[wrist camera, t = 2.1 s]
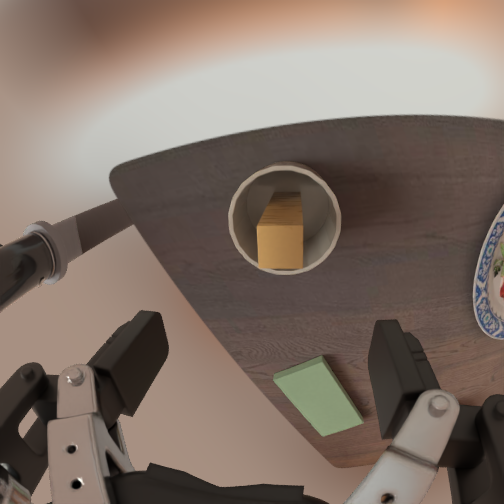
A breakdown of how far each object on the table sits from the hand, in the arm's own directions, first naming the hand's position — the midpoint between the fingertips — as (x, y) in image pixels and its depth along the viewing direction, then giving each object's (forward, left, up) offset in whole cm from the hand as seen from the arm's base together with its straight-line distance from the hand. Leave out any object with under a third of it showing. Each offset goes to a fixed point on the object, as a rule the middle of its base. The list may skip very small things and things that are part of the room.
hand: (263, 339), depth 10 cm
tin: (0, 0, -24) cm, 24 cm away
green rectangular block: (+6, -31, -24) cm, 40 cm away
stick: (0, 0, -24) cm, 24 cm away
